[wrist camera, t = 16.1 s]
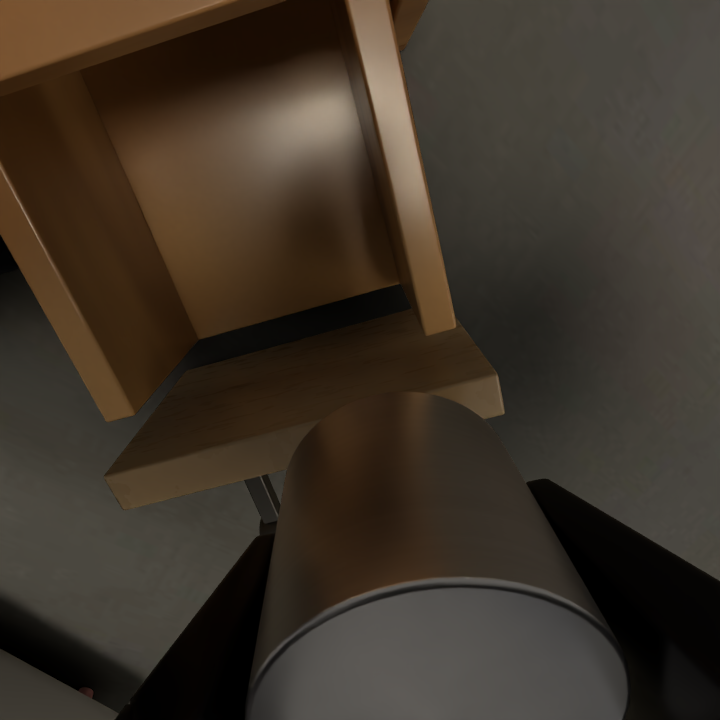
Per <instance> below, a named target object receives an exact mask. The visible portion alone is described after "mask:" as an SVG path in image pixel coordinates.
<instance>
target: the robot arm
mask: <svg viewBox="0 0 720 720" xmlns="http://www.w3.org/2000/svg"><path fill="white" fill-rule="evenodd" d="M17 269H20V268H19V267H18V265H17V263H16V261H15V260H14V258H13V256H12V254H11V252H10V251H9V249H8V247H7V245H6V244H5V242H4V240H3V238H2V237H1V235H0V274H3V273H7V272H10V271H13V270H17ZM526 484H527V486H528V488H529V489H530V491H531V493H532V494H533V496H534V498H535V500H536V501H537V503H538V505H539V506H540V508H541V510H542V512H543V513H544V515H545V517H546V519H547V520H548V522H549V524H550V525H551V527H552V529H553V531H554V532H555V534H556V536H557V537H558V539H559V541H560V543H561V544H562V546H563V548H564V550H565V551H566V553H567V555H568V556H569V558H570V560H571V562H572V563H573V565H574V567H575V568H576V570H577V572H578V574H579V575H580V577H581V579H582V580H583V582H584V584H585V586H586V587H587V589H588V591H589V593H590V594H591V596H592V598H593V599H594V601H595V603H596V605H597V606H598V608H599V610H600V611H601V613H602V615H603V617H604V618H605V620H606V622H607V624H608V625H609V627H610V629H611V630H612V632H613V634H614V636H615V637H616V639H617V641H618V643H619V644H620V646H621V648H622V650H623V652H624V654H625V658H626V661H627V664H628V667H629V674H630V686H631V693H630V701H629V707H628V710H627V713H626V716H625V719H624V720H720V581H719V580H717V579H715V578H714V577H712V576H710V575H709V574H707V573H705V572H704V571H702V570H700V569H699V568H697V567H695V566H693V565H692V564H690V563H688V562H687V561H685V560H683V559H682V558H680V557H678V556H677V555H675V554H673V553H672V552H670V551H668V550H667V549H665V548H663V547H662V546H660V545H658V544H656V543H655V542H653V541H651V540H650V539H648V538H646V537H645V536H643V535H641V534H640V533H638V532H636V531H635V530H633V529H631V528H630V527H628V526H626V525H624V524H623V523H621V522H619V521H618V520H616V519H614V518H613V517H611V516H609V515H608V514H606V513H604V512H603V511H601V510H599V509H598V508H596V507H594V506H593V505H591V504H589V503H587V502H586V501H584V500H582V499H581V498H579V497H577V496H576V495H574V494H572V493H571V492H569V491H567V490H566V489H564V488H562V487H561V486H559V485H557V484H556V483H554V482H552V481H550V480H549V479H538V480H533V481H528V482H527V483H526ZM274 539H275V533H269V534H265V535H260V536H257V537H256V538H255V539H254V540H253V541H252V543H251V544H250V545H249V547H248V548H247V549H246V550H245V552H244V553H243V554H242V556H241V557H240V558H239V560H238V561H237V562H236V563H235V565H234V566H233V567H232V569H231V570H230V571H229V572H228V574H227V575H226V576H225V578H224V579H223V580H222V582H221V583H220V584H219V585H218V587H217V588H216V589H215V591H214V592H213V593H212V594H211V596H210V597H209V598H208V600H207V601H206V602H205V603H204V605H203V606H202V607H201V609H200V610H199V611H198V613H197V614H196V615H195V616H194V618H193V619H192V620H191V622H190V623H189V624H188V625H187V627H186V628H185V629H184V631H183V632H182V633H181V634H180V636H179V637H178V638H177V640H176V641H175V642H174V644H173V645H172V646H171V647H170V649H169V650H168V651H167V653H166V654H165V655H164V656H163V658H162V659H161V660H160V662H159V663H158V664H157V665H156V667H155V668H154V669H153V671H152V672H151V673H150V675H149V676H148V677H147V678H146V680H145V681H144V682H143V684H142V685H141V686H140V687H139V689H138V690H137V691H136V693H135V694H134V695H133V697H132V698H131V699H130V704H127V705H125V707H124V708H123V709H122V710H121V712H120V713H119V714H118V716H117V717H116V718H115V719H114V720H245V702H246V697H247V691H248V685H249V680H250V674H251V669H252V663H253V657H254V652H255V646H256V640H257V635H258V629H259V623H260V618H261V612H262V606H263V601H264V595H265V589H266V584H267V578H268V573H269V567H270V561H271V556H272V550H273V544H274Z"/></svg>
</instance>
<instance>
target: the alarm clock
mask: <svg viewBox="0 0 720 720" xmlns="http://www.w3.org/2000/svg"><path fill="white" fill-rule="evenodd" d="M92 697H93V690H92V689H90V688H87V687H83V688H80V689H79V691H77V690H75V689H73V688H71V687H69V686H68V685H66V684H64V683H62V682H60V681H58V680H57V679H55V678H53V677H51V676H49V675H47V674H46V673H44V672H42V671H40V670H38V669H36V668H35V667H33V666H31V665H29V664H27V663H25V662H24V661H22V660H20V659H18V658H16V657H14V656H13V655H11V654H9V653H7V652H5V651H3V650H2V649H0V720H114V719H115V718H116V717H117V716H118V714H119V713H117V712H115V711H114V710H112V709H110V708H108V707H106V706H104V705H102V704H101V703H99V702H97V701H95V700H93V699H92Z"/></svg>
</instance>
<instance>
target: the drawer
mask: <svg viewBox="0 0 720 720" xmlns="http://www.w3.org/2000/svg"><path fill="white" fill-rule="evenodd" d="M0 235H1V237H2V238H3V240H4V242H5V244H6V245H7V247H8V249H9V251H10V252H11V254H12V256H13V258H14V260H15V261H16V263H17V265H18V267H19V268H20V270H21V272H22V274H23V275H24V277H25V279H26V281H27V283H28V284H29V286H30V288H31V290H32V291H33V293H34V295H35V297H36V298H37V300H38V302H39V304H40V306H41V307H42V309H43V311H44V313H45V314H46V316H47V318H48V320H49V321H50V323H51V325H52V327H53V329H54V330H55V332H56V334H57V336H58V337H59V339H60V341H61V343H62V344H63V346H64V348H65V350H66V352H67V353H68V355H69V357H70V359H71V360H72V362H73V364H74V366H75V367H76V369H77V371H78V373H79V375H80V376H81V378H82V380H83V382H84V383H85V385H86V387H87V389H88V390H89V392H90V394H91V396H92V398H93V399H94V401H95V403H96V405H97V406H98V408H99V410H100V412H101V413H102V415H103V417H104V419H105V421H106V422H111V421H115V420H118V419H122V418H126V417H130V416H133V415H135V414H136V413H137V412H138V411H139V409H140V408H141V407H142V406H143V405H144V404H145V402H146V401H147V400H148V399H149V398H150V396H151V395H152V394H153V393H154V392H155V391H156V389H157V388H158V387H159V386H160V385H161V384H162V382H163V381H164V380H165V379H166V378H167V376H168V375H169V374H170V373H171V372H172V371H173V369H174V368H175V367H176V366H177V365H178V363H179V362H180V361H181V360H182V359H183V358H184V356H185V355H186V354H187V353H188V352H189V351H190V349H191V348H192V347H193V346H194V345H195V343H196V342H197V341H198V340H200V339H204V338H207V337H211V336H215V335H218V334H222V333H225V332H229V331H232V330H236V329H240V328H243V327H247V326H250V325H254V324H257V323H261V322H265V321H268V320H272V319H275V318H279V317H282V316H286V315H289V314H293V313H297V312H300V311H304V310H307V309H311V308H314V307H318V306H322V305H325V304H329V303H332V302H336V301H339V300H343V299H347V298H350V297H354V296H357V295H361V294H364V293H368V292H372V291H375V290H379V289H382V288H386V287H389V286H393V285H396V284H401V286H402V288H403V290H404V292H405V294H406V297H407V299H408V301H409V303H410V305H411V307H412V309H409V310H405V311H402V312H398V313H394V314H391V315H387V316H384V317H380V318H376V319H373V320H369V321H365V322H362V323H358V324H354V325H351V326H347V327H344V328H340V329H336V330H333V331H329V332H325V333H322V334H318V335H315V336H311V337H307V338H304V339H300V340H296V341H293V342H289V343H285V344H282V345H278V346H275V347H271V348H267V349H264V350H260V351H256V352H253V353H249V354H246V355H242V356H238V357H235V358H231V359H227V360H224V361H220V362H216V363H213V364H209V365H206V366H202V367H198V368H195V369H191V370H187V371H186V372H185V373H184V374H183V375H182V376H181V378H180V379H179V380H178V382H177V383H176V384H175V385H174V387H173V388H172V389H171V391H170V392H169V393H168V394H167V396H166V397H165V398H164V399H163V401H162V402H161V403H160V405H159V406H158V407H157V408H156V410H155V411H154V412H153V414H152V415H151V416H150V417H149V419H148V420H147V421H146V422H145V424H144V425H143V426H142V428H141V429H140V430H139V431H138V433H137V434H136V435H135V437H134V438H133V439H132V440H131V442H130V443H129V444H128V445H127V447H126V448H125V449H124V451H123V452H122V453H121V454H120V456H119V457H118V458H117V460H116V461H115V462H114V463H113V465H112V466H111V467H110V468H109V470H108V471H107V472H106V474H105V475H104V479H105V481H106V482H107V484H108V486H109V487H110V489H111V491H112V492H113V494H114V496H115V497H116V499H117V501H118V502H119V504H120V506H121V507H122V509H123V510H128V509H132V508H136V507H140V506H144V505H148V504H152V503H156V502H160V501H164V500H168V499H172V498H176V497H179V496H183V495H187V494H191V493H195V492H199V491H203V490H207V489H211V488H215V487H219V486H223V485H227V484H231V483H235V482H239V481H243V480H244V481H245V483H246V485H247V488H248V490H249V492H250V494H251V496H252V498H253V501H254V503H255V505H256V507H257V509H258V512H259V514H260V516H261V520H260V535H265V534H269V533H276V527H277V522H278V516H279V510H280V503H279V500H278V498H277V496H276V493H275V491H274V489H273V486H272V484H271V482H270V480H269V477H268V475H267V474H270V473H274V472H278V471H282V470H286V469H287V468H288V465H289V463H290V460H291V458H292V455H293V454H294V452H295V450H296V448H297V447H298V445H299V443H300V442H301V441H302V440H303V438H304V437H305V436H306V435H307V433H308V432H309V431H310V430H311V429H312V428H313V427H314V426H315V425H316V424H317V423H319V422H320V421H321V420H322V419H324V418H325V417H327V416H328V415H329V414H331V413H332V412H334V411H335V410H337V409H339V408H341V407H343V406H345V405H346V404H349V403H351V402H354V401H356V400H359V399H361V398H365V397H369V396H373V395H376V394H383V393H390V392H419V393H427V394H431V395H436V396H441V397H443V398H446V399H449V400H452V401H455V402H457V403H459V404H461V405H463V406H465V407H467V408H469V409H470V410H472V411H473V412H475V413H476V414H478V415H479V416H480V417H481V418H483V419H487V418H491V417H495V416H499V415H503V414H504V411H505V410H504V404H503V398H502V393H501V387H500V382H499V376H498V374H497V373H496V371H495V370H494V368H493V367H492V366H491V364H490V363H489V362H488V360H487V359H486V358H485V356H484V355H483V353H482V352H481V351H480V349H479V348H478V347H477V345H476V344H475V343H474V341H473V340H472V338H471V337H470V336H469V334H468V333H467V332H466V330H465V329H464V328H463V326H462V325H461V323H460V322H459V321H458V319H457V318H456V317H455V314H454V309H453V304H452V300H451V295H450V290H449V285H448V280H447V276H446V271H445V266H444V261H443V257H442V252H441V247H440V242H439V237H438V233H437V228H436V223H435V218H434V213H433V209H432V204H431V199H430V194H429V189H428V185H427V180H426V175H425V170H424V165H423V161H422V156H421V151H420V146H419V142H418V137H417V132H416V127H415V122H414V118H413V113H412V108H411V103H410V98H409V94H408V89H407V84H406V79H405V74H404V70H403V65H402V60H401V55H400V50H399V46H398V41H397V36H396V31H395V27H394V22H393V17H392V12H391V7H390V3H389V0H287V1H284V2H281V3H278V4H275V5H272V6H269V7H266V8H263V9H260V10H257V11H254V12H251V13H248V14H245V15H242V16H239V17H236V18H233V19H230V20H227V21H224V22H221V23H218V24H215V25H212V26H209V27H206V28H203V29H200V30H197V31H194V32H191V33H189V34H186V35H183V36H180V37H177V38H174V39H171V40H168V41H165V42H162V43H159V44H156V45H153V46H150V47H147V48H144V49H141V50H138V51H135V52H132V53H129V54H126V55H123V56H120V57H117V58H114V59H111V60H108V61H105V62H102V63H99V64H96V65H93V66H90V67H87V68H84V69H81V70H78V71H75V72H72V73H69V74H66V75H63V76H60V77H57V78H54V79H51V80H48V81H45V82H42V83H39V84H36V85H34V86H31V87H28V88H25V89H22V90H19V91H16V92H13V93H10V94H7V95H4V96H1V97H0Z"/></svg>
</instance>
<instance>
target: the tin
mask: <svg viewBox="0 0 720 720" xmlns="http://www.w3.org/2000/svg"><path fill="white" fill-rule="evenodd" d="M630 693H631V686H630V674H629V667H628V664H627V661H626V658H625V654H624V652H623V650H622V648H621V646H620V644H619V643H618V641H617V639H616V637H615V636H614V634H613V632H612V630H611V629H610V627H609V625H608V624H607V622H606V620H605V618H604V617H603V615H602V613H601V611H600V610H599V608H598V606H597V605H596V603H595V601H594V599H593V598H592V596H591V594H590V593H589V591H588V589H587V587H586V586H585V584H584V582H583V580H582V579H581V577H580V575H579V574H578V572H577V570H576V568H575V567H574V565H573V563H572V562H571V560H570V558H569V556H568V555H567V553H566V551H565V550H564V548H563V546H562V544H561V543H560V541H559V539H558V537H557V536H556V534H555V532H554V531H553V529H552V527H551V525H550V524H549V522H548V520H547V519H546V517H545V515H544V513H543V512H542V510H541V508H540V506H539V505H538V503H537V501H536V500H535V498H534V496H533V494H532V493H531V491H530V489H529V488H528V486H527V484H526V482H525V481H524V479H523V477H522V475H521V474H520V472H519V470H518V469H517V467H516V465H515V463H514V462H513V460H512V458H511V457H510V455H509V453H508V451H507V450H506V448H505V446H504V444H503V443H502V441H501V439H500V438H499V436H498V435H497V433H496V432H495V431H494V430H493V428H492V427H491V426H490V425H489V424H488V423H487V422H486V421H485V420H484V419H483V418H481V417H480V416H479V415H478V414H476V413H475V412H473V411H472V410H470V409H469V408H467V407H465V406H463V405H461V404H459V403H457V402H455V401H452V400H449V399H446V398H443V397H441V396H436V395H431V394H427V393H419V392H390V393H383V394H376V395H373V396H369V397H365V398H361V399H359V400H356V401H354V402H351V403H349V404H346V405H345V406H343V407H341V408H339V409H337V410H335V411H334V412H332V413H331V414H329V415H328V416H327V417H325V418H324V419H322V420H321V421H320V422H319V423H317V424H316V425H315V426H314V427H313V428H312V429H311V430H310V431H309V432H308V433H307V435H306V436H305V437H304V438H303V440H302V441H301V442H300V443H299V445H298V447H297V448H296V450H295V452H294V454H293V455H292V458H291V460H290V463H289V465H288V468H287V473H286V477H285V482H284V488H283V493H282V499H281V505H280V510H279V516H278V522H277V527H276V533H275V539H274V544H273V550H272V556H271V561H270V567H269V573H268V578H267V584H266V589H265V595H264V601H263V606H262V612H261V618H260V623H259V629H258V635H257V640H256V646H255V652H254V657H253V663H252V669H251V674H250V680H249V685H248V691H247V697H246V702H245V720H624V719H625V716H626V713H627V710H628V707H629V701H630Z"/></svg>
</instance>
